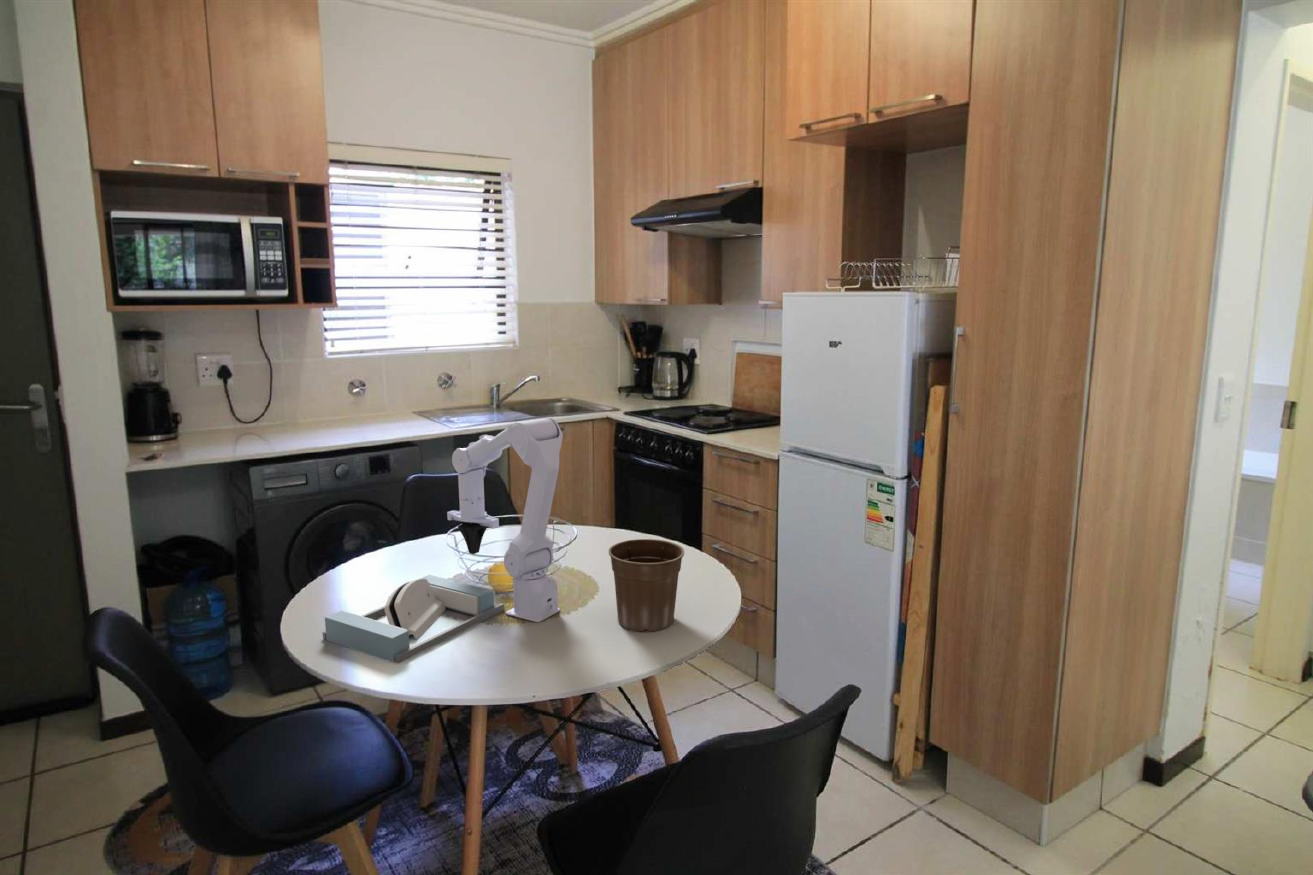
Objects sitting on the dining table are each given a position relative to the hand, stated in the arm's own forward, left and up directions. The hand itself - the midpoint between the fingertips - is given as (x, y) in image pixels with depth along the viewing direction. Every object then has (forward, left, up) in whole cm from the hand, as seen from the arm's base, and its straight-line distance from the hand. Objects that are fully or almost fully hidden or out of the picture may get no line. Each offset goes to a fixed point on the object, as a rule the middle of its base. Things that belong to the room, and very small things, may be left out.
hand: (474, 552), depth 188 cm
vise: (-3, +21, -9) cm, 23 cm away
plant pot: (-45, -5, -10) cm, 46 cm away
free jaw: (-3, +10, -10) cm, 14 cm away
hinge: (-2, +21, -10) cm, 23 cm away
